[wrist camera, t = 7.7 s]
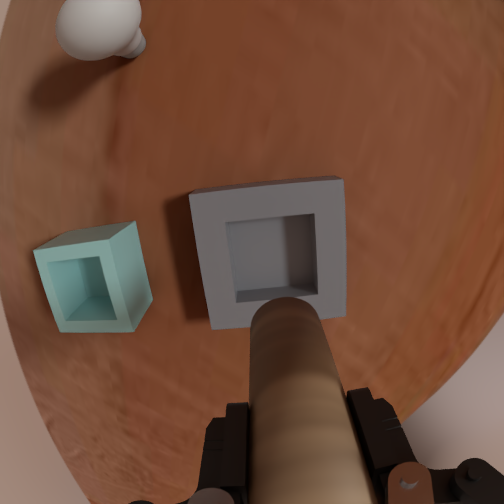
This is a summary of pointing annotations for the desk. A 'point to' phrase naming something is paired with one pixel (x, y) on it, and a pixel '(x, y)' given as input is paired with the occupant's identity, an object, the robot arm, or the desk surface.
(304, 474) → the dowel
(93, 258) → the mint green open box
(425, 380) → the desk surface
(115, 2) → the lightbulb
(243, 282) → the stand
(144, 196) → the desk surface
